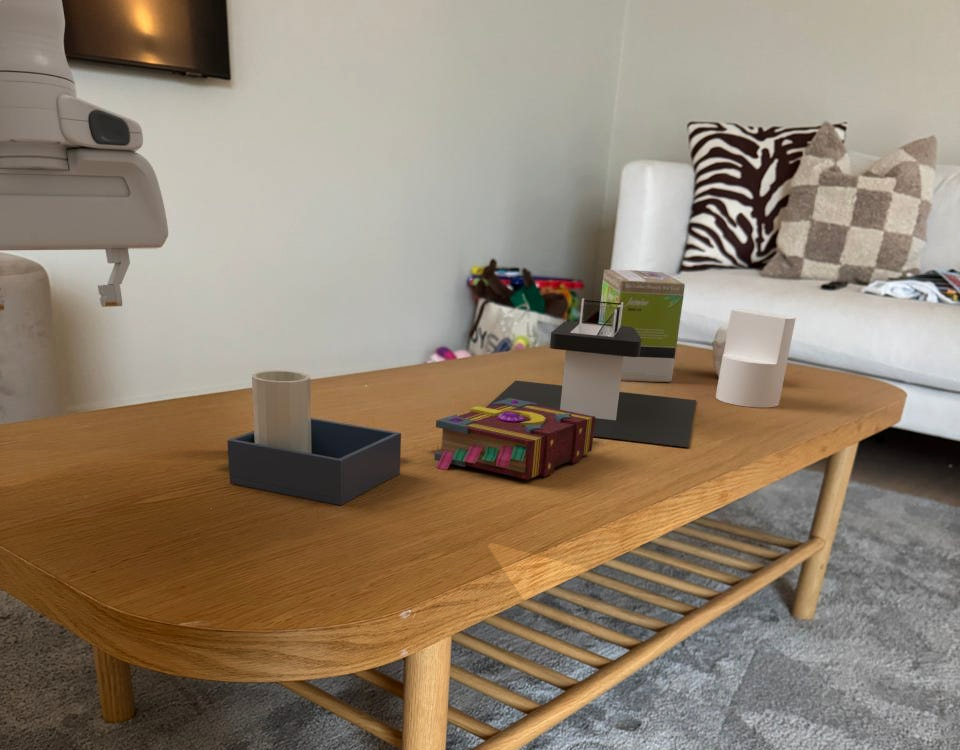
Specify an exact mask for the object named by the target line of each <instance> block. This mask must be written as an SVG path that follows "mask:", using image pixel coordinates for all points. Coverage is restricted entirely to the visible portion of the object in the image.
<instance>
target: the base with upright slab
mask: <svg viewBox="0 0 960 750" xmlns="http://www.w3.org/2000/svg"><path fill="white" fill-rule="evenodd" d="M796 319H797V318H796V317H794V316H787V315H783V314H781V315H780V314H775V313H769V312H762V311H755V310H750V309H744V308H735V309H731V310H730V314H729V320H728V321H729V325H728V331H727V337H726V343H725V349H724V354H723V357H722V362H721V368H720V374H719V377H718V381H717V386H716V391H715V398H716V399H717V400H718V401H720V402H722V403H725V404H730V405H734V406H739V407H747V408H748V407H749V408H760V409H761V408H763V409H764V408H774V407H778V406H779V404H780V400H781V397H782V391H783V385H784V380H785V376H786V371H787V366H788V359H789V353H790V349H791V345H792V339H793V335H794V329H795V324H796Z"/></svg>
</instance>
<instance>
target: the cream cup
mask: <svg viewBox="0 0 960 750" xmlns="http://www.w3.org/2000/svg"><path fill="white" fill-rule="evenodd" d="M311 391H312V389H311V376H310V375H309V374H307V373H304V372H300V371H293V370H283V369H280V370H279V369H278V370H277V369H276V370H275V369H274V370H262V371H257V372H254V373H252V374H251V393H252V416H253V417H252V419H253V420H252V421H253V431H254V443H256V444H261V445H267V446H272V447H278V448H283V449H289V450H294V451H300V452H305V453H311V418H312V402H311V401H312V399H311V397H312V395H311Z"/></svg>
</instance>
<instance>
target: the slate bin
mask: <svg viewBox="0 0 960 750" xmlns="http://www.w3.org/2000/svg"><path fill="white" fill-rule="evenodd" d="M401 449H402V433H401V432H397V431H392V430H386V429H380V428H375V427H368V426H362V425H356V424H351V423H344V422H338V421H332V420H326V419H320V418H316V417H315V418H314V417H311V453H305V452H300V451H294V450H289V449H283V448H278V447H272V446H267V445H261V444H256V443H254V430H252V431H248V432H245V433H243V434H240V435H237V436H235V437H232V438H229V439H227V457H228V476H229V478H228V479H229V484H232V485H236V486H242V487H246V488H250V489H251V488H252V489H257V490H262V491H266V492H271V493H276V494H280V495H281V494H282V495H286V496H291V497H297V498H301V499H306V500H313V501H317V502H322V503H326V504H332V505H336V506H343V505H344V504H346V503H348V502H350V501H352V500H354V499H355V498H357V497H359V496H361V495H363V494H365V493H366V492H368V491H370V490H372V489H374V488H376V487H378V486H380V485H382V484H383V483H385V482H387V481H389V480H390V479H392V478H394V477H397V476H398V475H400V474H401V455H402V454H401V453H402V452H401V451H402V450H401Z"/></svg>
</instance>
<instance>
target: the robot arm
mask: <svg viewBox="0 0 960 750" xmlns="http://www.w3.org/2000/svg"><path fill="white" fill-rule="evenodd" d="M65 29H66V18H65V14H64V6H63V0H0V251H74V250H75V251H80V250H81V251H85V250H86V251H88V250H89V251H90V250H93V251H94V250H97V251H98V250H105V251H104V252H105V255H106V257H105V258H106V262H107V264H108V265H109V264H114V265H113V267H112V269H111V272H110V275H109V278H108V280H107V283H106V284H99V285H98V284H97V290H98V295H99V296H100V298H99V303H100V305H101V307H103V308H107V307H108V308H109V307H110V308H111V307H123V296H122V291H121V285H122V283H123V281H124V279H125V276H126V274H127V271H128V269H129V266H130V264H131V261H130V260H131V259H130V255H129V253H130V252H129V250H156V249H161V248H162V247H163V246H164V244H165V243H166V241H167V240H168V237H169V225H168V219H167V213H166V209H165V204H164V200H163V195H162V191H161V187H160V183H159V179H158V177H157V174H156V172H155V170H154V168H153V166H152V164H151V162H149V160H148V159H147V158H146V157H145V156H143V155H142V154H140V153H138V152H137V151H139V150H140V149H141V148H142V147H143V145H144V135H143V130H142V127H141V124H139V123H138V122H137V121H136V120H134V119H132V118H129V117H127V116H124V115H121V114H119V113H117V112H113V111H111V110H108V109H106V108H103V107H101V106H98V105H96V104H93V103H91V102H88V101H86V100H83V99H82V98H79V97H78V95H77V89H76V82H75V78H74V74H73V72H72V70H71V68H70V66H69V65H70V64H69V63H68V60H67V56H66V52H65V41H64V40H65V31H66V30H65ZM2 298H3V295H2V289H1V288H0V312H1V311H2V312H3V311H5V304H4V301H3V300H2Z"/></svg>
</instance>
